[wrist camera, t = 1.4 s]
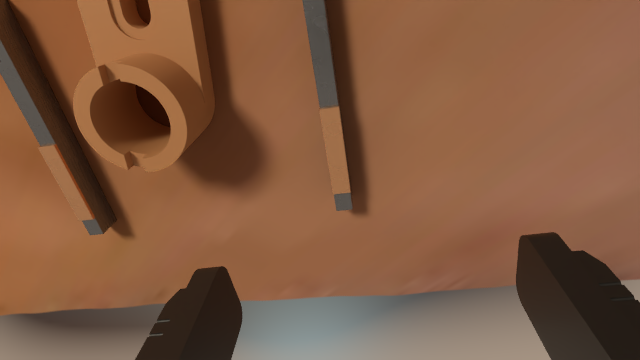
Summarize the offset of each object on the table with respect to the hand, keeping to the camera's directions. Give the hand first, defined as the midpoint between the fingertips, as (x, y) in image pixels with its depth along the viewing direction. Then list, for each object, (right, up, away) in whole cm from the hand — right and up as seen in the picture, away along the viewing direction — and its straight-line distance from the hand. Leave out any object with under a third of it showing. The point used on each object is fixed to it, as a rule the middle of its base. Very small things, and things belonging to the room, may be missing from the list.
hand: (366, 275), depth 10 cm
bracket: (-15, +15, +21) cm, 29 cm away
